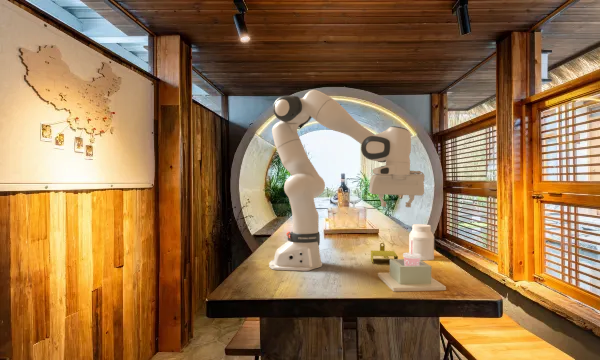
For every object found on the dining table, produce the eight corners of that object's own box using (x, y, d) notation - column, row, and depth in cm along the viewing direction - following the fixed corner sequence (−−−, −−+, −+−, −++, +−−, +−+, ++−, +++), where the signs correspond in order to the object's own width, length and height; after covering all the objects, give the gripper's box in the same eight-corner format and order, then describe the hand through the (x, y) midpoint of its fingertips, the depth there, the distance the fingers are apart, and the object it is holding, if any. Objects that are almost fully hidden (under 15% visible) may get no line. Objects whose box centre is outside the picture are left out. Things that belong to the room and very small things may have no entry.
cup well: (393, 291, 120) (393, 269, 120) (377, 275, 138) (377, 257, 138) (445, 290, 121) (446, 268, 121) (423, 274, 139) (423, 256, 139)
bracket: (368, 249, 152) (365, 242, 167) (367, 267, 152) (365, 259, 167) (405, 250, 151) (399, 243, 165) (405, 268, 151) (399, 259, 166)
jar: (407, 254, 174) (407, 223, 174) (427, 254, 174) (427, 223, 174) (414, 260, 162) (414, 227, 162) (436, 260, 162) (436, 227, 162)
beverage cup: (401, 276, 133) (401, 238, 133) (418, 276, 133) (418, 238, 132) (404, 281, 127) (405, 241, 127) (422, 282, 126) (422, 242, 126)
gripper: (421, 170, 139) (419, 206, 140) (369, 169, 138) (367, 205, 138) (428, 171, 133) (426, 208, 133) (373, 169, 132) (371, 207, 132)
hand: (395, 206), depth 136 cm, fingers open, 8 cm apart
